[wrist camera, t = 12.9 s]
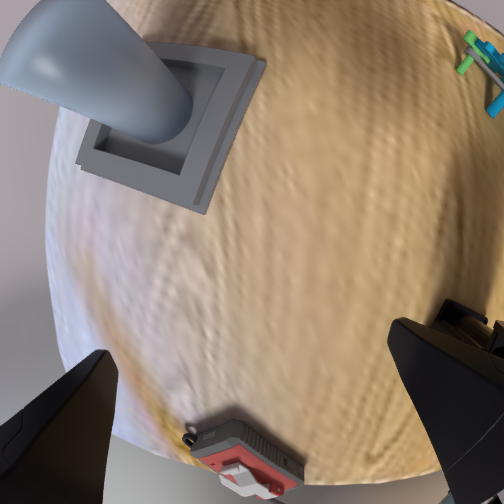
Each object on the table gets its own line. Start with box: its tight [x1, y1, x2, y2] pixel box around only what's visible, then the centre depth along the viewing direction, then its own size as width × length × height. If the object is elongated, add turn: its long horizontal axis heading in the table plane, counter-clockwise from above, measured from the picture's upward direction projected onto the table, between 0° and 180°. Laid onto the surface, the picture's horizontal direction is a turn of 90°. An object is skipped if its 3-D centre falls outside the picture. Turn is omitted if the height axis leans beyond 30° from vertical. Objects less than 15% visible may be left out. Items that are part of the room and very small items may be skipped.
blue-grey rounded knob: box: [0, 0, 193, 144], centre depth 11 cm, size 5×5×13 cm
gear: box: [456, 30, 504, 118], centre depth 11 cm, size 11×6×10 cm
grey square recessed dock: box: [75, 42, 267, 215], centre depth 17 cm, size 12×12×2 cm
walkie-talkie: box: [182, 420, 304, 504], centre depth 21 cm, size 9×4×20 cm
